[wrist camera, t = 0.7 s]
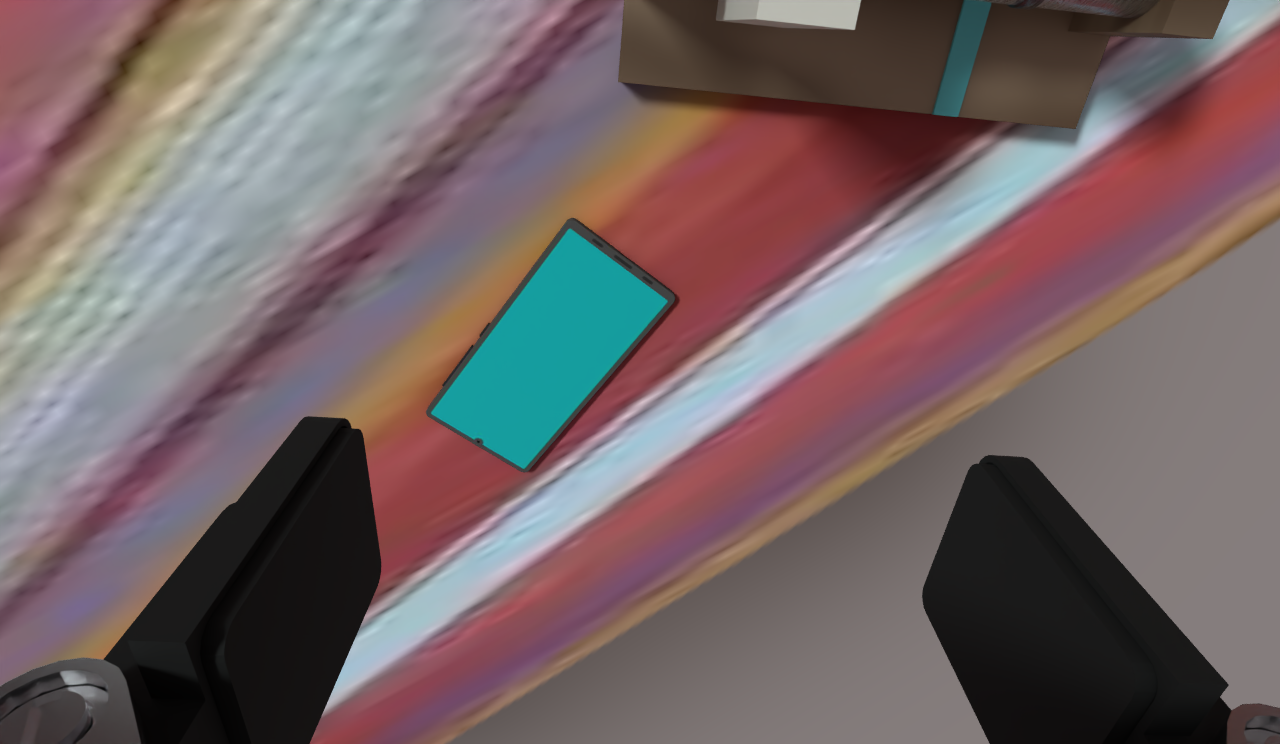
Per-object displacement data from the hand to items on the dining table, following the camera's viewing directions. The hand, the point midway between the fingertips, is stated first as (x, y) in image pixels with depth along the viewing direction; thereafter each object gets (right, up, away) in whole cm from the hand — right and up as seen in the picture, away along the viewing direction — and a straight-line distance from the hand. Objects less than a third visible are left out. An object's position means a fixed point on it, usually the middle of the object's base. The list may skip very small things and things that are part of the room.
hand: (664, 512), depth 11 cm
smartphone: (-6, +3, +29) cm, 30 cm away
